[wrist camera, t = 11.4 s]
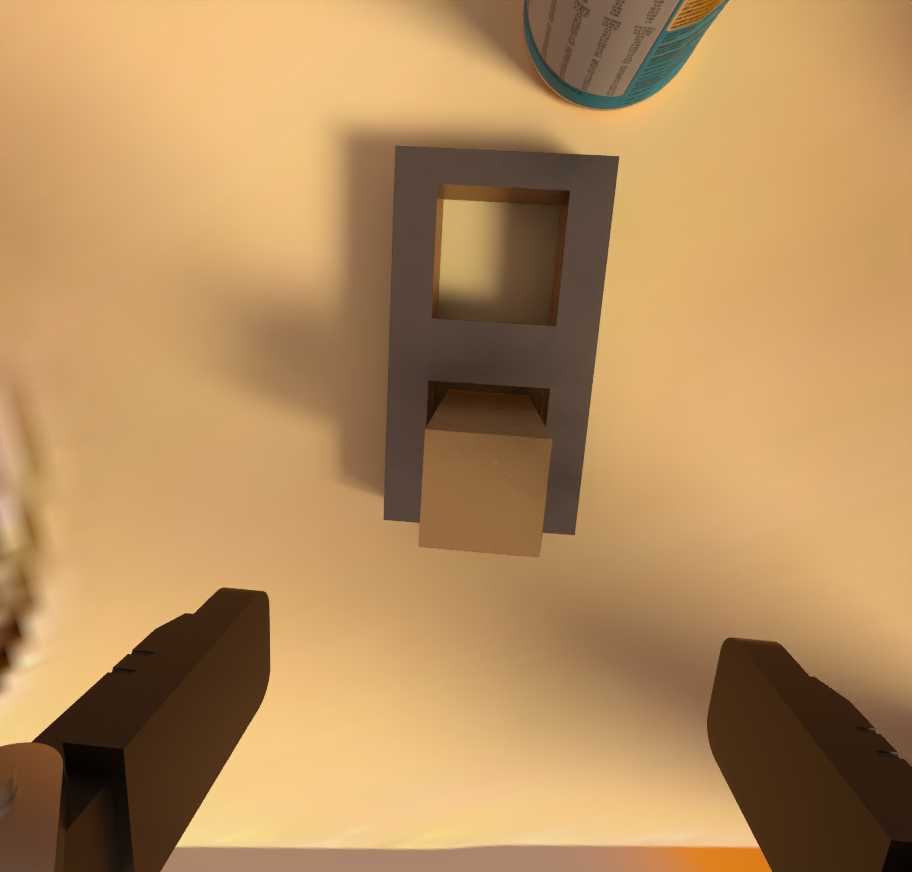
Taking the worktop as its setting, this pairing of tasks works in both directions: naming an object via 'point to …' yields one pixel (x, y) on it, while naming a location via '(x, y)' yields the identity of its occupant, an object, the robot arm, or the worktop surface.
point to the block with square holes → (491, 343)
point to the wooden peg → (485, 474)
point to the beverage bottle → (613, 46)
